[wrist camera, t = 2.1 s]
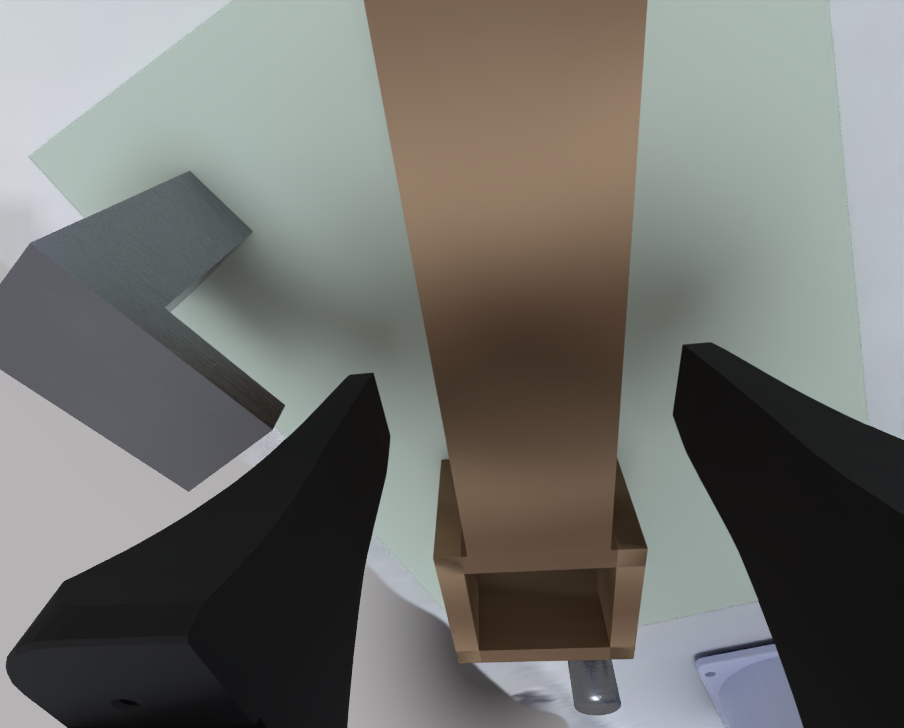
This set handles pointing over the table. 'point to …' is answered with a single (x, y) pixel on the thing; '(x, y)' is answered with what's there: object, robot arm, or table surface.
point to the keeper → (136, 331)
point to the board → (390, 263)
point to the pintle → (594, 686)
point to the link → (523, 306)
